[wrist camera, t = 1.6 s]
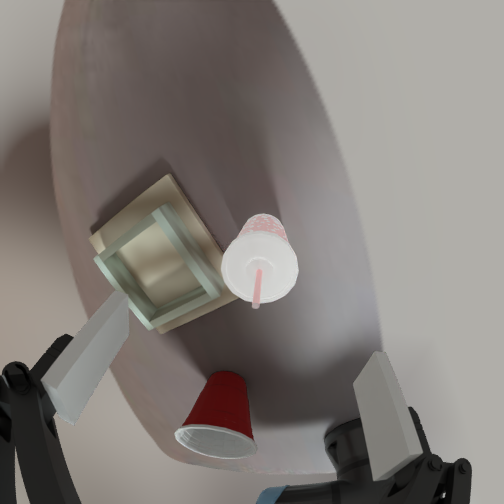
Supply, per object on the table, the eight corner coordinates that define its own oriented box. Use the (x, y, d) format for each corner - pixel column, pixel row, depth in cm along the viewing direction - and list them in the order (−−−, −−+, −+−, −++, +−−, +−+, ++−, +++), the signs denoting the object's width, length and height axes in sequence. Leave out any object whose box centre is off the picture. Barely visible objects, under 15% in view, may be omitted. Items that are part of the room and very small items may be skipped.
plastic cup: (188, 392, 41) (170, 450, 30) (199, 350, 37) (177, 417, 26) (250, 409, 42) (244, 468, 31) (271, 370, 38) (269, 439, 27)
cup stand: (248, 289, 33) (245, 308, 29) (163, 329, 36) (153, 348, 33) (170, 173, 28) (155, 178, 24) (92, 236, 32) (75, 247, 28)
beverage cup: (280, 198, 28) (286, 246, 16) (299, 249, 30) (315, 328, 18) (226, 218, 30) (190, 279, 17) (247, 267, 32) (231, 351, 19)
